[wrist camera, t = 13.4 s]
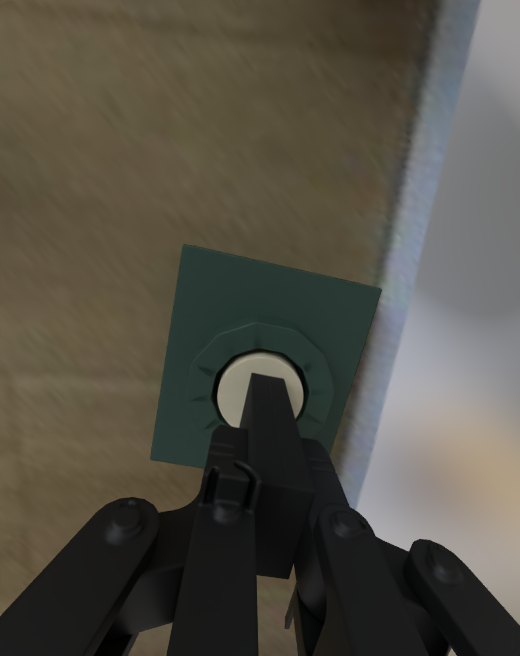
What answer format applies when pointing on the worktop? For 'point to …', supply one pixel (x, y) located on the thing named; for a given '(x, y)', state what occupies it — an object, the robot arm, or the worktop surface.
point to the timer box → (256, 344)
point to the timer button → (239, 376)
